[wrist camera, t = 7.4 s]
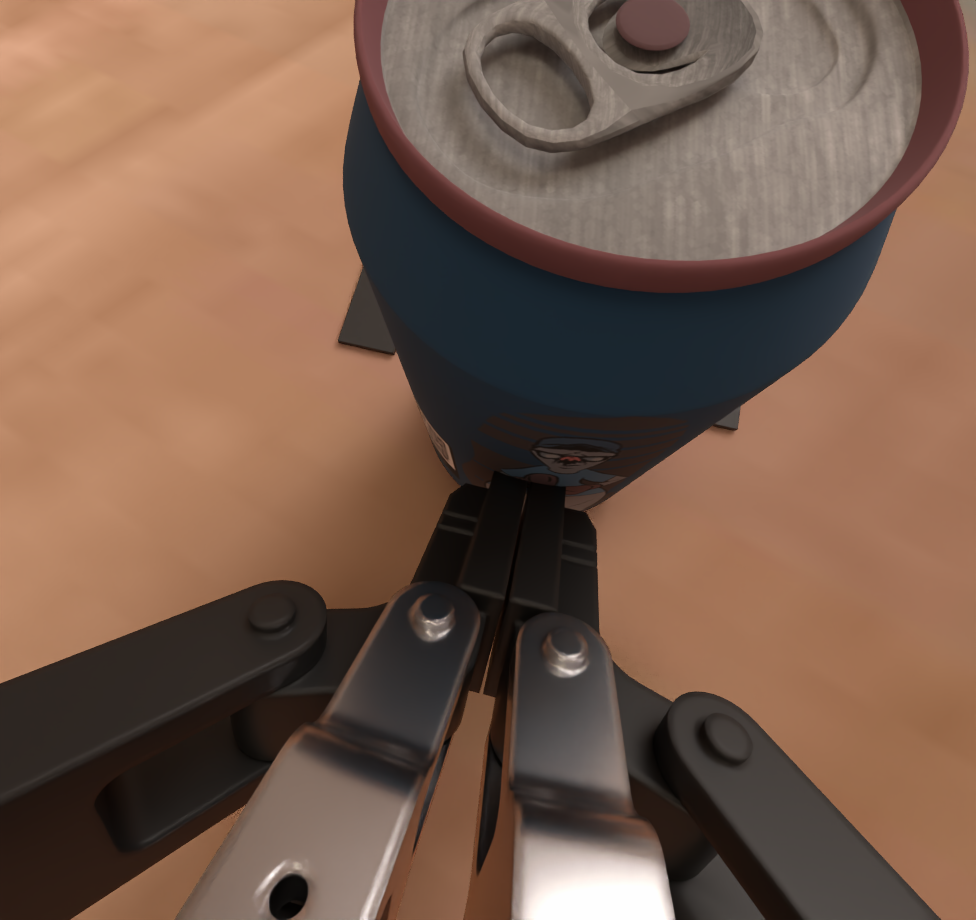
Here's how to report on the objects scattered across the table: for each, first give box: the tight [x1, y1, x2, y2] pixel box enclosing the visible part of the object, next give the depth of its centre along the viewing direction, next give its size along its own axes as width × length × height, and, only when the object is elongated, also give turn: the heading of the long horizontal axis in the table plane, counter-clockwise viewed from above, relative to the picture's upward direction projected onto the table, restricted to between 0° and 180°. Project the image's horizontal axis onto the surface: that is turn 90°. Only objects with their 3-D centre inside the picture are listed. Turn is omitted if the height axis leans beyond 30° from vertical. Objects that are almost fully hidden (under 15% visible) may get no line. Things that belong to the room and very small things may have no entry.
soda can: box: [343, 0, 969, 512], centre depth 10 cm, size 7×7×12 cm
